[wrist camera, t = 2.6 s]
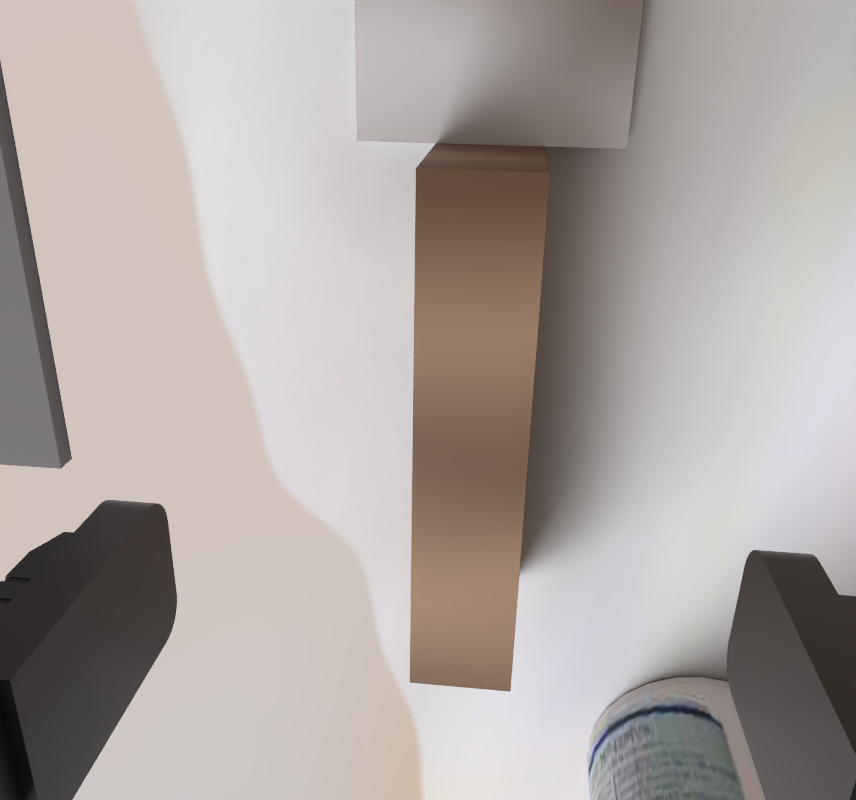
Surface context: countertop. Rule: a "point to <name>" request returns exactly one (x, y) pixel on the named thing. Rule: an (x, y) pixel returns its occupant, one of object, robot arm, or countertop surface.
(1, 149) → the mat
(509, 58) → the turner
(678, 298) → the countertop surface
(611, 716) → the spray can
